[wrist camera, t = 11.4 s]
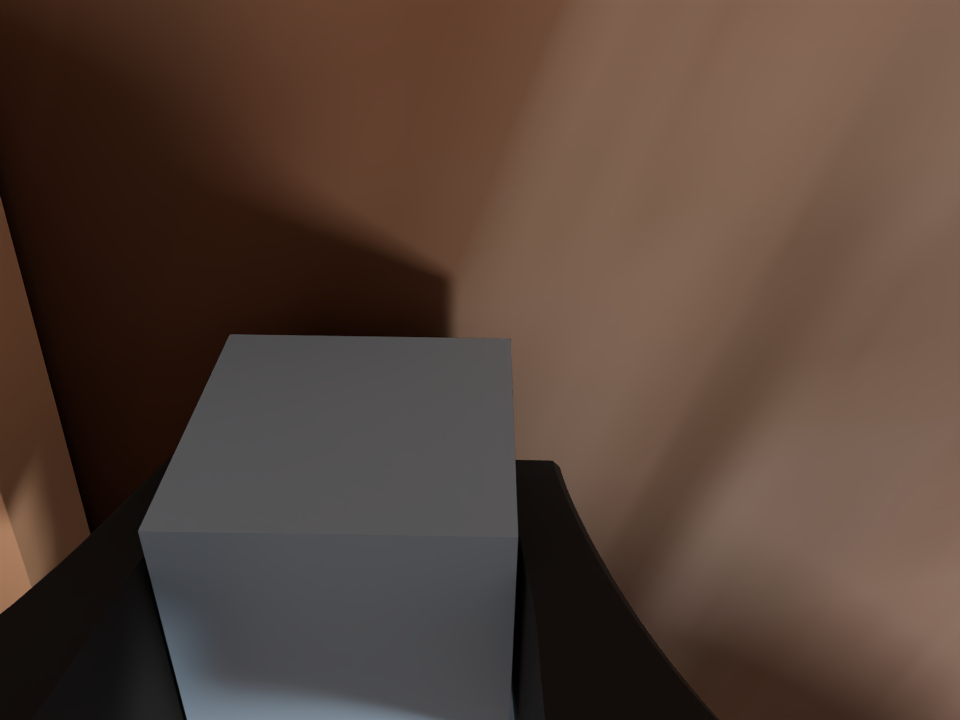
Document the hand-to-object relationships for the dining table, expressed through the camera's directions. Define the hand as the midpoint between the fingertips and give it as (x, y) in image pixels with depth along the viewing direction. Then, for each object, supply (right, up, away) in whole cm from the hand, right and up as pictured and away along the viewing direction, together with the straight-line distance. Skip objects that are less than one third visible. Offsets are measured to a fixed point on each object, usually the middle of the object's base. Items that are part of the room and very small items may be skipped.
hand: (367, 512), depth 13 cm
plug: (0, 0, +2) cm, 2 cm away
